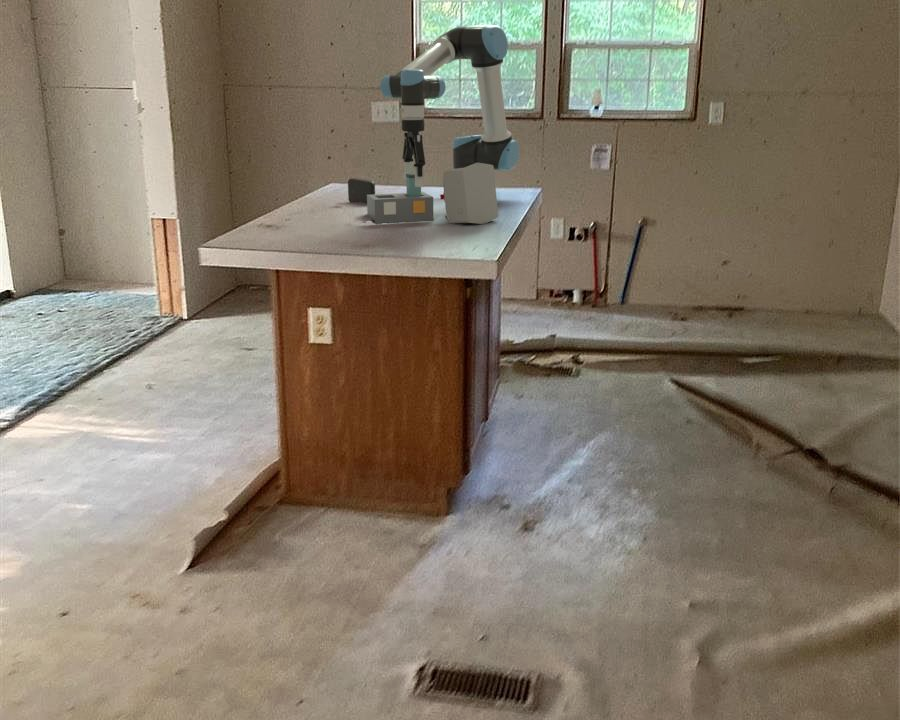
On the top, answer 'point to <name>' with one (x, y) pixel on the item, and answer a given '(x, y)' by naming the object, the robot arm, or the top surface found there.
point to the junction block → (399, 208)
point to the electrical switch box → (470, 194)
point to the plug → (412, 186)
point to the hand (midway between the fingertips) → (413, 184)
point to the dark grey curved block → (360, 189)
